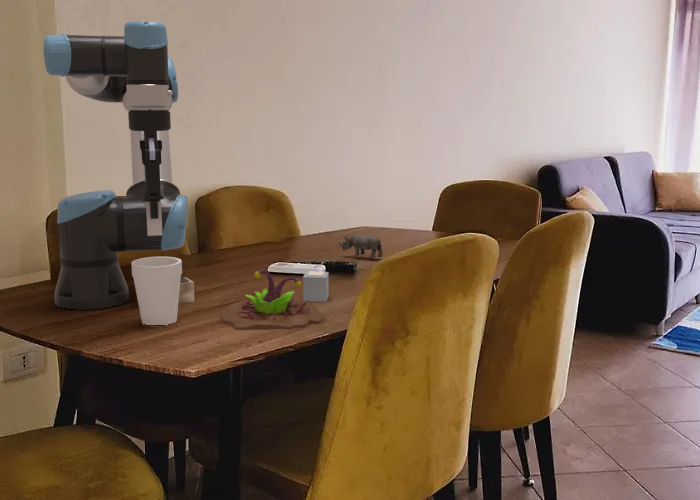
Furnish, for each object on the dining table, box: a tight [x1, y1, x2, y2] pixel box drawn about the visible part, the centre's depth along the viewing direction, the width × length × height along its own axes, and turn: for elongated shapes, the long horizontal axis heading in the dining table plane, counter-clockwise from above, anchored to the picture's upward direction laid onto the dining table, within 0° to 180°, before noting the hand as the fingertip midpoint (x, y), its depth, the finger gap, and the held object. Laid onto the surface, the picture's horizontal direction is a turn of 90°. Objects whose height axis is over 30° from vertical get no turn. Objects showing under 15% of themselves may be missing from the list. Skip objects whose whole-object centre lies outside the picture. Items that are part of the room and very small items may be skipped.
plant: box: [220, 269, 325, 331], centre depth 152 cm, size 20×20×11 cm
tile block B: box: [302, 270, 330, 303], centre depth 167 cm, size 5×5×6 cm
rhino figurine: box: [338, 233, 384, 259], centre depth 215 cm, size 4×14×6 cm, turn 60°
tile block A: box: [178, 276, 195, 305], centre depth 165 cm, size 5×5×5 cm
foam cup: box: [131, 256, 183, 326], centre depth 147 cm, size 10×9×13 cm
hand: (154, 234), depth 145 cm, fingers closed
